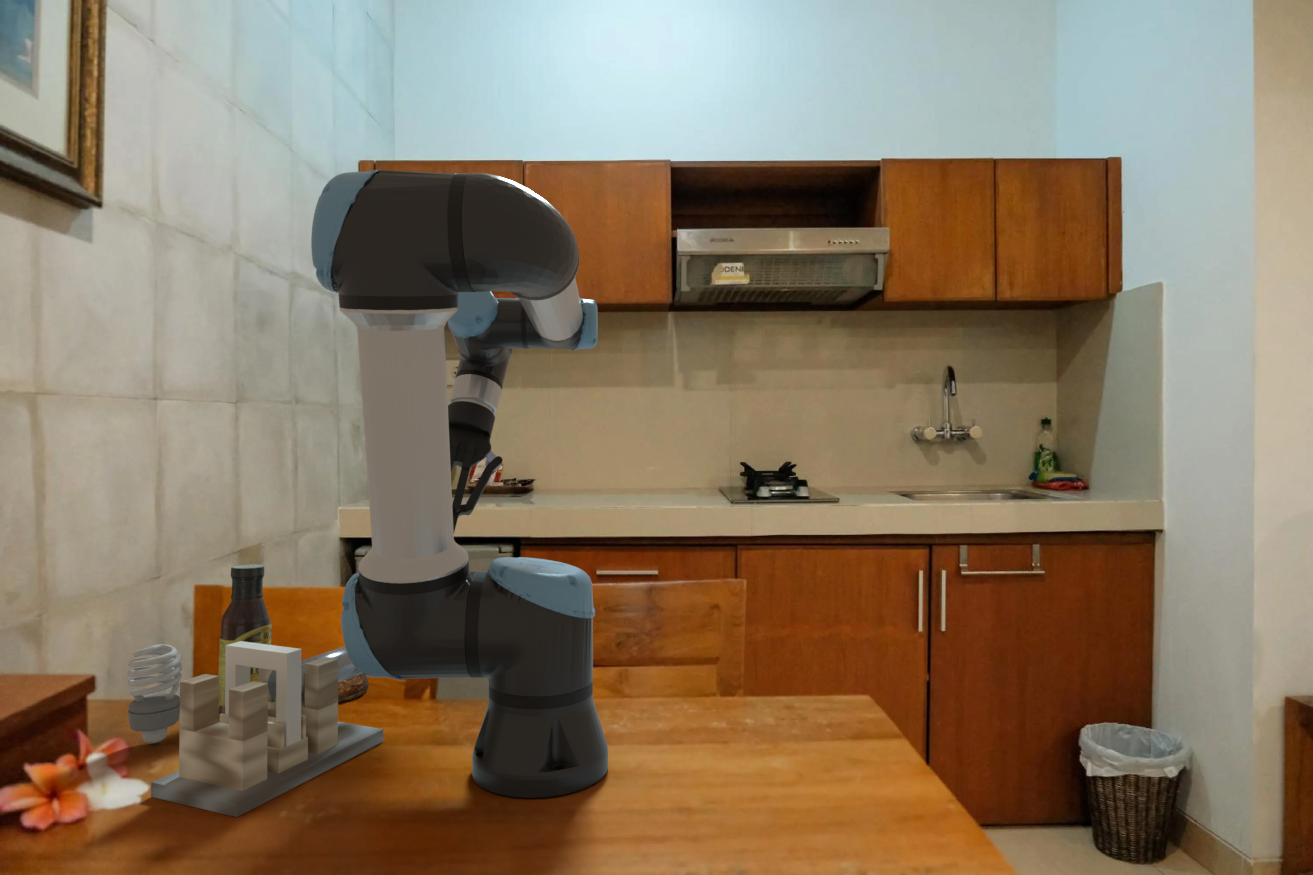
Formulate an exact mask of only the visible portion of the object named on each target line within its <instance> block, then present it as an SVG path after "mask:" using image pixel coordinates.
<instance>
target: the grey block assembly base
mask: <svg viewBox="0 0 1313 875" xmlns="http://www.w3.org/2000/svg"><path fill="white" fill-rule="evenodd" d="M272 671H273V670H269V669H262V668H259V682H255V681H253V682H250V683H247V684H244V685H241V686H238V687H235V688H232V689H229V714H223V713H222V714H220V716H219V676H218V675H215V674H208V673H205V674H204V673H203V674H200V675H197V676H193V677H191V678H188V679H185V680H180V681H179V697H180V715H179V746H178V747H179V752H178V753H179V755H178V757H179V760H178V761H179V764H178V765H179V767H178V768H179V770H177V771H175V772H172V773H170V774H167V775H165V776H162V777H160V778H158V779H155V780H152V781H151V782H150V797H151V798H155V799H157V800H158V799H160V800H162V801H163V800H164V801H167V802H172V803H176V804H180V805H184V806H189V807H192V808H196V809H201V810H206V811H209V812H213V813H217V814H223V815H226V816H230V817H234V818H238V817H240V816H242V815H244V814H246V813H247V812H250V811H251V810H253V809H255V808H257V807H259V806H261V805H263V804H265V803H267V802H269V801H271V800H272V799H275V798H277V797H279V796H281V795H283V794H284V793H287V792H289V791H290V790H292V789H294V788H296V787H298V786H300V785H302V784H303V783H305V782H308V781H310V780H311V779H313V778H315V777H317V776H319V775H321V774H323V773H325V772H327V771H329V770H331V769H332V768H335V767H337V766H338V765H341V764H342V763H344V762H347V761H348V760H351V759H352V758H354V757H356V756H358V755H360V754H362V753H364V752H366V751H368V750H369V749H372V748H373V747H375V746H377V745H379V744H381V743H383V742H384V729H383V728H379V727H371V726H366V725H361V724H355V723H348V722H343V721H342V722H341V721H339V703H338V659H335V658H327V657H324V658H321V659H318V660H315V661H312V662H309V663H306V664H305V697H301V740H300V741H298V742H296V743H293V744H291V745H289V746H287V747H286V746H284V724H280V723H274V722H269V721H268V716H270V717H276V701H275V700H274V699H273V698H272V697H271V695H270V693H269V689H268V679H269V676H270V674H271V672H272Z"/></svg>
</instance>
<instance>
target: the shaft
mask: <svg viewBox="0 0 1313 875" xmlns="http://www.w3.org/2000/svg"><path fill="white" fill-rule="evenodd" d="M324 657H327V658H335V659H338V683H339V682H342V681H344V680H347V679H349V678H352V677H355V676H357V675H360V674H362V672H360V671H359V670H358V669H357V668H356V667H355V666H354V665H353V663H352V662H351V660H350V658H349V656H348V653H347V650H346V647H345V645H344V646H341V647H337V648H335V649H332V650H329V651H325V652H323V653H320V654H317V655H313V656H311V657H307V658H305V659H301V697H303V696H305V664H306V663H309V662H312V661H315V660H318V659H321V658H324ZM268 689H269V693H270V695H271V697H272V698H273V699H274V700H275V701H276V670H273V671H272V672H271V674H270V676H269V679H268Z"/></svg>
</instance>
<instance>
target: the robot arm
mask: <svg viewBox="0 0 1313 875" xmlns="http://www.w3.org/2000/svg"><path fill="white" fill-rule="evenodd" d="M310 238H311V240H310V241H311V243H310V244H311V245H310V246H311V247H310V248H311V259H312V266H313V268H314V269H315V270H316V271H315V276H316V279H317V280H318V282H319V284H320V285H321V286H322V287H323V288H324V289H326V290H328V291H330V292H331V293H337V294H338V303H339V311H340V312H341V314H343V315H344V316H346V317H347V318H348V319H349V320H350V321H351V322H352V323H353V324H354V325H355V327H356V332H357V345H358V359H359V360H358V361H359V372H360V373H359V374H360V388H361V389H360V390H361V404H362V416H363V419H362V420H363V429H364V430H363V431H364V432H363V433H364V445H365V446H364V447H365V462H366V474H367V488H368V503H369V519H370V533H371V546H372V547H371V549H369V551H368V552H367V553H366V554H365V555H364V556H363V557H362V559H360V560H359V563H358V572H355V573H354V574H353V575H351V577H350V578H349V579H348V581H347V582H346V585H345V587H344V589H343V593H342V599H341V605H342V607H343V608H342V610H343V611H341V613H340V623H341V624H340V625H341V632H342V634H341V635H342V637H343V638H342V640H343V643H344V646H345V647H346V650H347V653H348V656H349V658H350V660H351V662H352V663H353V665H354V666H355V667H356V668H357V669H358V670H359V671H360V672H362V673H363V674H365V675H366V677H370V678H382V679H383V678H384V679H385V678H387V679H393V680H396V681H404V680H407V679H461V678H462V679H463V678H465V679H473V678H476V679H478V678H481V679H482V678H485V679H488V704H487V708H486V711H485V713H484V716H483V720H482V722H481V727H480V728H479V731H478V736H477V737H476V738H477V739H476V741H475V745H474V748H473V750H472V757H471V758H472V759H471V760H472V761H471V767H472V768H471V774H472V775H471V776H472V779H473V780H474V782H475V784H477V785H478V786H479V787H481V788H482V789H484V790H485V791H489V792H491V793H494V794H497V795H501V796H506V797H512V798H513V797H514V798H527V799H528V798H531V799H533V798H534V799H536V798H549V797H557V796H558V797H559V796H561V795H563V796H564V795H567V794H568V795H569V794H572V793H574V792H579V791H581V790H584V789H587V788H588V787H591V786H592V785H594V784H596V783H598V782H599V781H600V780H602V778H604V777H605V775H606V774H607V771H608V769H609V746H608V742H607V740H606V736H605V732H604V730H603V727H602V723H601V720H600V717H599V714H598V711H597V708H596V704H595V701H594V681H593V680H594V655H593V654H594V643H593V642H594V639H593V638H594V637H593V636H594V635H593V634H594V632H593V629H594V626H593V624H594V620H593V619H594V618H595V616H596V609H595V607H594V597H593V594H594V593H593V583H592V579H591V576H590V575H589V574H588V573H587V572H586V571H584V570H583V569H581V568H580V567H577V566H575V565H572V564H569V563H564V562H561V561H555V560H550V559H545V558H535V557H525V556H522V557H521V556H519V557H511V556H505V557H497V558H494V559H492V560H491V561H490V563H489V565H488V567H487V571H470V561H469V560H470V557H469V553H468V551H467V550H466V549H465V548H463V547H462V546H461V545H460V544H458V543H457V542H456V540H455V538H454V537H455V536H454V535H455V534H454V533H455V531H456V527H457V523H458V519H459V517H461V516H471V515H472V513H473V511H474V510H475V507H476V505H477V504H478V502H479V500H480V498H481V496H482V494H483V493H484V490H485V489H486V487H487V485H488V483H489V481H490V479H491V477H492V475H494V473H495V472H497V471H498V470H499V469H500V468H501V467H502V463H503V457H501V456H499V455H498V456H497V455H496V454H495V453H494V452H493V451H492V445H491V444H492V443H491V437H492V433H493V430H494V424H495V422H496V416H495V415H497V412H498V408H499V404H500V400H501V395H502V394H503V393H502V391H503V387H504V386H503V385H504V382H505V378H506V375H507V372H508V371H507V370H508V367H509V363H510V361H511V360H510V359H511V356H512V354H513V349H515V350H516V349H523V350H525V349H532V350H533V349H540V350H541V349H542V350H544V349H545V350H547V349H548V350H572V351H578V350H588V349H589V350H590V349H594V348H595V347H596V346H597V344H598V334H599V333H598V332H599V329H598V328H599V327H598V326H599V324H598V322H599V319H598V316H599V315H598V304H597V302H596V301H595V300H594V299H590V298H589V299H587V298H581V297H580V293H579V289H578V283H577V280H576V276H577V273H578V271H579V266H580V250H579V246H578V241H577V237H576V236H575V233H574V231H573V229H572V227H571V226H570V224H569V223H568V221H567V220H566V219H565V217H564V216H563V215H562V214H561V213H560V212H559V211H558V209H557V208H555V207H554V206H553V205H552V204H551V203H550V202H548V201H547V200H546V199H545V198H544V197H542V196H540V195H539V194H537V193H535V192H534V191H533V190H531V189H530V188H528V187H526V186H524V185H523V184H520V183H518V182H516V181H514V180H511V179H508V178H507V177H506V178H505V177H502V176H500V175H495V174H490V173H487V172H468V173H466V172H463V173H462V172H438V171H437V172H434V171H433V172H431V171H411V170H410V171H409V170H407V171H406V170H388V169H387V170H384V169H373V170H365V171H350V172H349V171H348V172H343V173H342V172H341V173H339V174H337V175H335V176H333V177H332V178H331V179H330V180H329V181H328V182H327V183H326V184H325V186H324V187H323V189H322V192H321V194H320V195H319V197H318V199H317V202H316V206H315V209H314V214H313V219H312V225H311V237H310ZM493 292H500V293H501V292H502V293H503V292H504V293H505V292H508V293H509V294H511V295H513V296H515V298H514V297H513V298H512V297H495V295H494V294H493ZM446 324H447V327H448V329H449V331H450V333H451V335H452V338H453V340H454V343H455V344H456V348H457V352H458V354H459V356H460V357H459V362H458V366H457V368H456V373H455V377H454V380H453V382H452V383H453V384H452V387H451V391H450V395H449V397H448V382H447V380H448V378H447V361H446V334H445V333H446V332H445V327H446ZM448 399H449V400H448ZM485 458H486V459H485ZM484 459H485V463H484V465H485V468H484V470H483V472H482V473H481V475H480V477H479V479H478V481H477V483H476V484H475V486H474V488H473V490H472V492H471V494H470V495H469V497H468V499H467V501H466V503H465V504H463V499H464V494H465V491H466V487H467V483H468V478H469V475H470V470H471V468H473V467H475V466H476V465H477V464H479V463H480V462H481V461H483V460H484ZM454 466H457V467H460V468H461V469H460V474H459V477H458V482H457V486H456V488H455V493H454V497H453V492H452V490H453V489H452V488H453V487H452V471H453V468H454Z"/></svg>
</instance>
